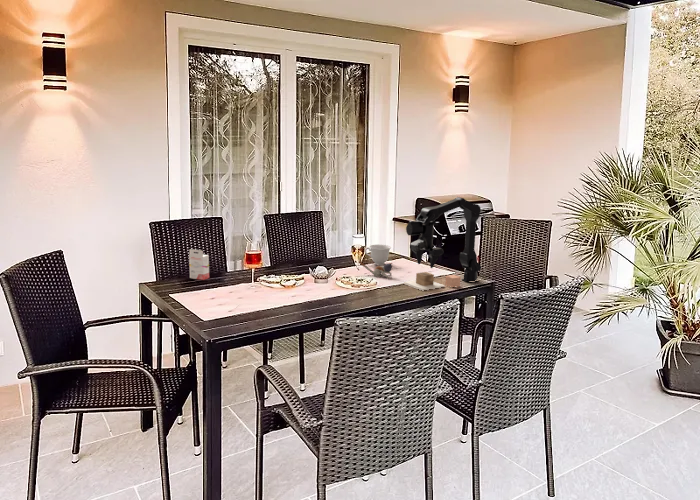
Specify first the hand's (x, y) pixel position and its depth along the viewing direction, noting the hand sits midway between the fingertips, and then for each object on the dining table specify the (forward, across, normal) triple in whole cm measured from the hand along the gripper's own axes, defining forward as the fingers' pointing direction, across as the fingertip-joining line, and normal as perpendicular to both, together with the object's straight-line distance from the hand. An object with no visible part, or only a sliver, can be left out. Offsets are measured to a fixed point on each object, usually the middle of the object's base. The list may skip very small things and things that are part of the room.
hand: (425, 266), depth 285 cm
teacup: (+10, -48, +6) cm, 49 cm away
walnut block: (+9, 0, 0) cm, 9 cm away
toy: (+10, -28, -10) cm, 31 cm away
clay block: (+10, +7, +12) cm, 17 cm away
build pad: (+10, 0, 0) cm, 10 cm away
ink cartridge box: (+11, -63, -91) cm, 111 cm away
